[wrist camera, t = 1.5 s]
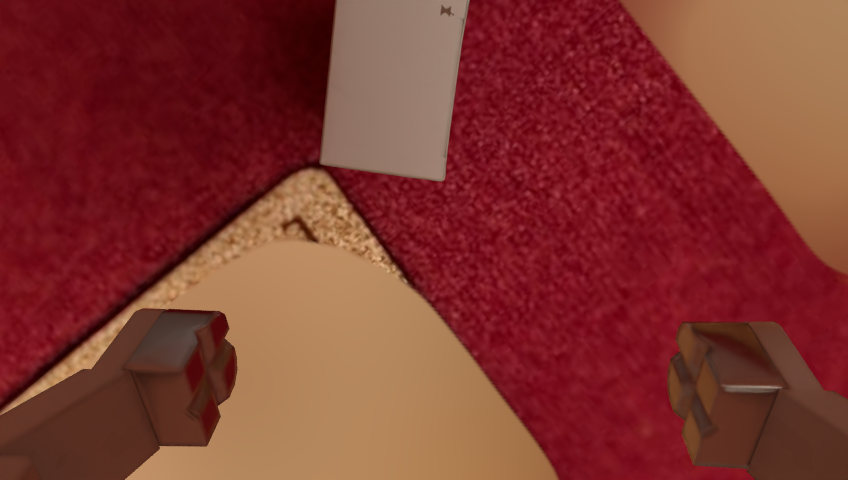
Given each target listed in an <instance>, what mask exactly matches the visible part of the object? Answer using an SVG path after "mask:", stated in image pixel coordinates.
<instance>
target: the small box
mask: <svg viewBox="0 0 848 480" xmlns="http://www.w3.org/2000/svg"><path fill="white" fill-rule="evenodd" d="M469 1H470V0H335V8H334V18H333V28H332V37H331V48H330V58H329V68H328V78H327V88H326V99H325V109H324V119H323V129H322V139H321V150H320V159H319V162H320V164H322V165H327V166H334V167H341V168H347V169H354V170H361V171H368V172H375V173H382V174H390V175H397V176H404V177H411V178H419V179H427V180H434V181H443V180H444V179H445V173H446V160H447V150H448V141H449V133H450V125H451V118H452V110H453V103H454V95H455V88H456V81H457V74H458V67H459V60H460V53H461V46H462V40H463V34H464V28H465V22H466V17H467V11H468V5H469Z"/></svg>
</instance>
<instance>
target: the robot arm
mask: <svg viewBox="0 0 848 480" xmlns="http://www.w3.org/2000/svg"><path fill="white" fill-rule="evenodd" d="M228 330H229V326H228V323H227V320H226V316H225V314H223V313H221V312H220V311H202V310H180V309H168V310H166V309H146V308H142V309H140V310H138V311H136V312H135V313H134V314H133V315H132V316H131V318H130V319H129V320H128V322H127V323H126V324H125V326H124V327H123V328H122V330H121V331H120V332H119V334H118V335H117V336H116V338H115V339H114V340H113V341H112V343H111V344H110V345H109V347H108V348H107V349H106V351H105V352H104V353H103V355H102V356H101V357H100V359H99V360H98V361H97V363H96V364H95V365H94V367H93V368H92V369H83V370H81V371H79V372H77V373H75V374H74V375H72V376H70V377H68V378H66V379H65V380H63V381H61V382H59V383H58V384H56V385H54V386H52V387H50V388H49V389H47V390H45V391H43V392H41V393H40V394H38V395H36V396H34V397H33V398H31V399H29V400H27V401H25V402H24V403H22V404H20V405H18V406H17V407H15V408H13V409H11V410H9V411H8V412H6V413H4V414H2V415H0V480H125V479H126V478H127V477H128V476H129V475H130V474H132V473H133V472H134V471H135V470H136V469H137V468H138V467H140V466H141V465H142V464H143V463H144V462H145V461H146V460H148V459H149V458H150V457H151V456H152V455H153V454H154V453H156V452H157V451H158V450H159V449H160V447H159V446H207V445H208V443H209V441H210V439H211V436H212V434H213V432H214V430H215V428H216V426H217V423H218V421H219V419H220V417H221V416H220V413H219V410H218V405H220V404H221V403H222V402H224V401H225V400H227V399H228V398H229V397H230V395H231V392H232V390H233V388H234V385H235V380H236V374H237V356H236V352H235V348H234V347H233V346H232V345H231V344H230V343H229V342H228V341H227V340H226V339H225V336H226V334H227V332H228ZM676 341H677V344H678V346H679V349H680V351H679V352H678V353H677V354H676V355H674V356H673V357H672V358H671V359H670V364H669V369H668V393H669V398H670V402H671V405H672V408H673V411H674V412H675V413H676V414H677V415H678V416H680V417H681V418H682V419H683V420H685V422H684V426H683V429H682V435H683V438H684V440H685V443H686V446H687V448H688V451H689V454H690V456H691V459H692V462H693V464H694V465H697V466H713V467H728V468H744V469H747V472H748V473H749V474H750V475H751V476H752V477H753V478H754V479H755V480H848V399H846V398H845V397H843V396H841V395H840V394H838V393H836V392H835V391H824V389H823V388H822V386H821V385H820V383H819V382H818V380H817V379H816V377H815V376H814V374H813V373H812V371H811V370H810V368H809V367H808V366H807V364H806V363H805V361H804V360H803V358H802V357H801V355H800V354H799V352H798V351H797V349H796V348H795V346H794V345H793V343H792V342H791V340H790V339H789V337H788V336H787V335H786V333H785V332H784V330H783V329H782V327H781V326H780V325H779V324H777V323H775V322H743V323H740V322H682V324H681V325H680V327H679V329H678V332H677V336H676Z"/></svg>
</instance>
